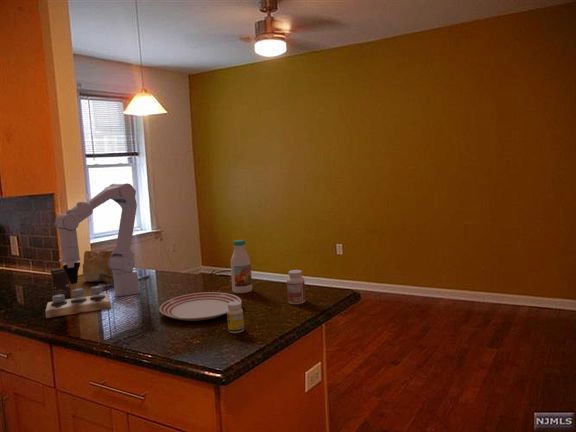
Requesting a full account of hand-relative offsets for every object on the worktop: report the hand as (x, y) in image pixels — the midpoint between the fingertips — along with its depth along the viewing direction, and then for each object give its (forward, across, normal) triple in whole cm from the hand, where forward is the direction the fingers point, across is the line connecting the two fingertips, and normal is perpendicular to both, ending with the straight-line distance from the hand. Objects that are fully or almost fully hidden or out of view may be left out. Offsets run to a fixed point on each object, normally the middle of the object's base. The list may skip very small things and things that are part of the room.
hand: (73, 283), depth 172 cm
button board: (+9, +1, +1) cm, 9 cm away
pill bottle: (+10, +38, +72) cm, 82 cm away
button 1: (+6, 0, -6) cm, 8 cm away
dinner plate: (+10, +30, +40) cm, 51 cm away
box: (+10, -19, -6) cm, 22 cm away
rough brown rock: (+10, -39, +13) cm, 42 cm away
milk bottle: (+10, +13, +60) cm, 62 cm away
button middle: (+4, 0, +1) cm, 5 cm away
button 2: (+5, 0, +7) cm, 9 cm away
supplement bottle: (+10, +54, +45) cm, 71 cm away
